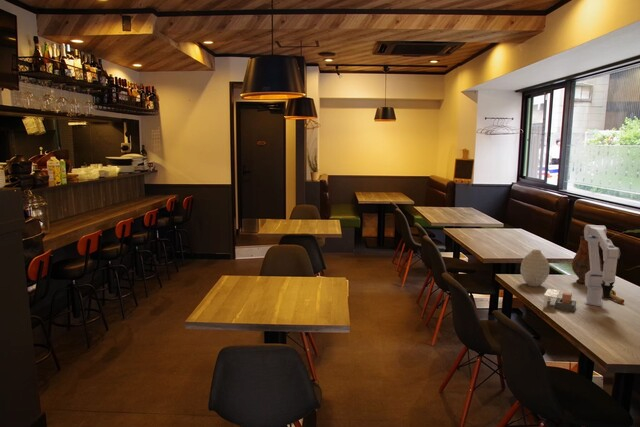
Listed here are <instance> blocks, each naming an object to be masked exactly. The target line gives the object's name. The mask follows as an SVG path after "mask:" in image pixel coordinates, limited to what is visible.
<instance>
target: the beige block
mask: <svg viewBox="0 0 640 427" xmlns="http://www.w3.org/2000/svg"><path fill="white" fill-rule="evenodd" d="M560 293H561V290H558V289H553V288H548V289H547V290H546V291H545V293H544V294H543V297H544V299H543V308H544V309H547V308H548V303H551V299H554V300H555V299H556V300H557V298H558V296H559V295H560Z"/></svg>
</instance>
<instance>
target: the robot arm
mask: <svg viewBox="0 0 640 427" xmlns="http://www.w3.org/2000/svg"><path fill="white" fill-rule="evenodd" d="M583 236H584V237H585V240H586V241H588V248H589V260H590V271H589V272H587V273H586V274H585V285H584V286H586V287H587V290H586V299H585V300H584V301H585V302H584V304H586V305H590V306H597V307H602V306H603V301H602V300H603V299H602V298H605V299H609V298H610V297H609V295H610V292H611V290H613V289H614V287H615V285H614V284H615V282H616V274H617V265H618V260H619V259H620V256H621V251H620V247H617V246H615V245H614V244H613V241H612V240H611V239H610V238H608V236H607V227H606V226H605V225H602V224H601V225H596V224H586V225H585V226H584V229H583ZM598 242H599V244H600V249H601V250H602V256H603V258H602V260H603V264H602V269H601V270H600V260H599V255H600V250H599V249H598ZM602 292H603V296H604V297H602Z"/></svg>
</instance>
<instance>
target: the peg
mask: <svg viewBox="0 0 640 427" xmlns="http://www.w3.org/2000/svg"><path fill="white" fill-rule="evenodd" d="M572 295H573V293H571V292H567V291H563V292H562V297H561V298H562V303H568V304H571V300H572V298H573V296H572Z"/></svg>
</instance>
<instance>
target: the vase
mask: <svg viewBox="0 0 640 427" xmlns="http://www.w3.org/2000/svg"><path fill="white" fill-rule="evenodd" d="M520 275H521V277H522V279H523V282H525V283H526V285H527V286H529V287H535V288H536V287H540V286H541V285H543V284H544V283H545V282H546V280H547V279H548V277H549V275H550V264H549V261H548V259H547V258H546V256H545V255H544V254H543V253H542V250H541V249H537V248H536V249H532V250H531V251H530V252H529V253H528V254H526V255H525V256H524V258H523V259H522V261H521V263H520Z"/></svg>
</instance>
